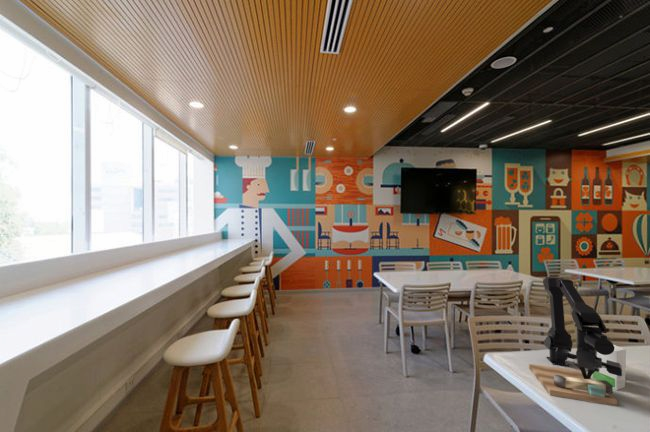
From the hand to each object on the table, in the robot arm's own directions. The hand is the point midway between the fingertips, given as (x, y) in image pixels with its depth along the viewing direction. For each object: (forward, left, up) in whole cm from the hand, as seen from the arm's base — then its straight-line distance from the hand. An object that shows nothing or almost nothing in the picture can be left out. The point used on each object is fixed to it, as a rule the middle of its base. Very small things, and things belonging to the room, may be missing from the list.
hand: (586, 382), depth 108 cm
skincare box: (-8, +11, -3) cm, 14 cm away
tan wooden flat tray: (-2, -5, -3) cm, 6 cm away
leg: (+3, -3, -1) cm, 5 cm away
